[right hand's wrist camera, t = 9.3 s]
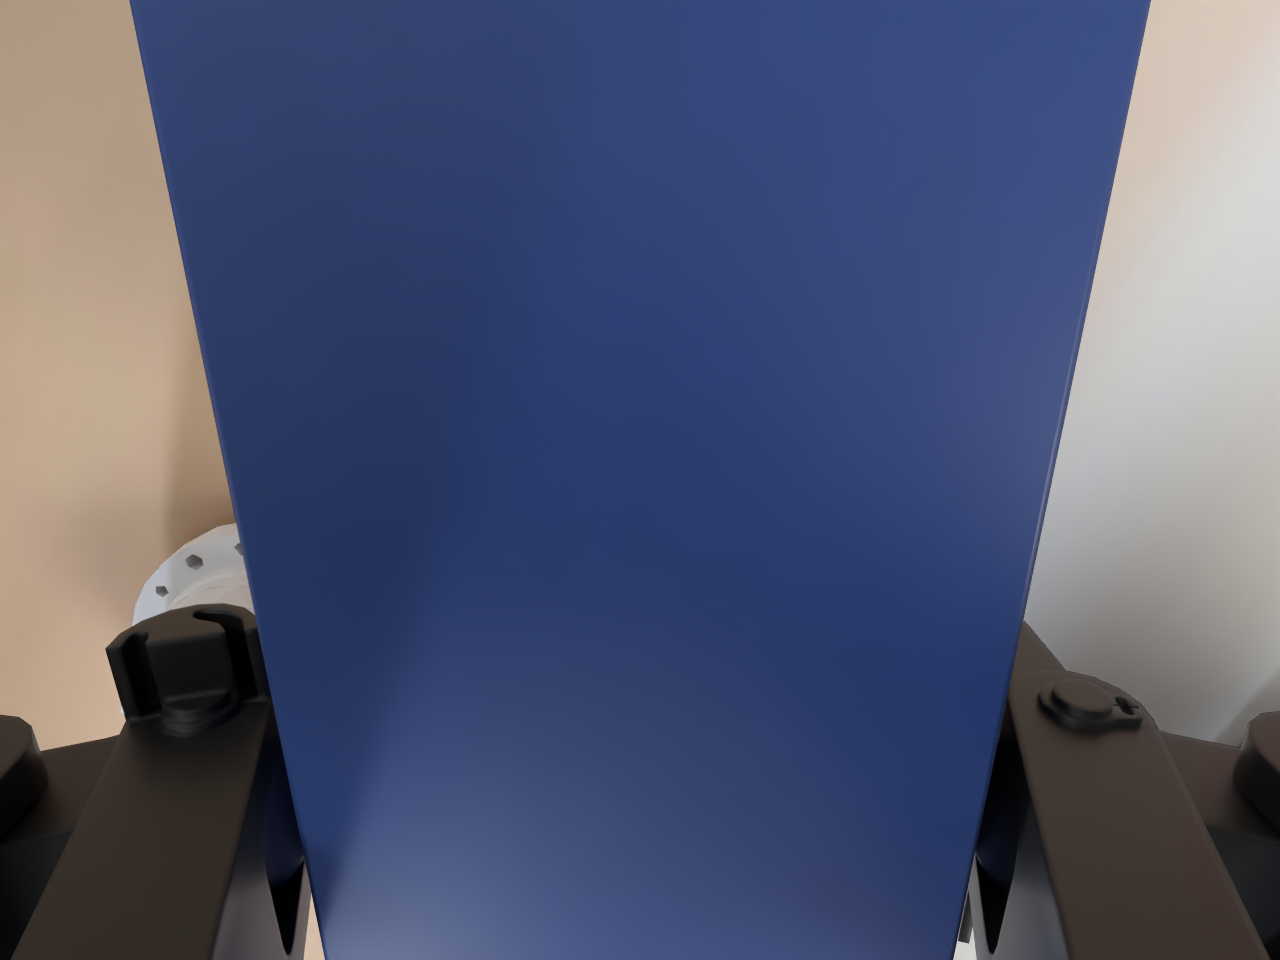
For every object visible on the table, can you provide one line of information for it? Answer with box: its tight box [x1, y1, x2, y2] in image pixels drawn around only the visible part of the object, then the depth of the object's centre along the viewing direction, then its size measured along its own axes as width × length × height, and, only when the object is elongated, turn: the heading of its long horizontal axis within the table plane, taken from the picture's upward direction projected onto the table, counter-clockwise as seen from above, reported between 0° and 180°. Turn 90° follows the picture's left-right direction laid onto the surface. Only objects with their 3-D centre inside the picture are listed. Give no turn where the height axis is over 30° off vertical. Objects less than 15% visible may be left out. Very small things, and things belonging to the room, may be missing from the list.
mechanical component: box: [120, 523, 255, 714], centre depth 27 cm, size 10×4×10 cm
